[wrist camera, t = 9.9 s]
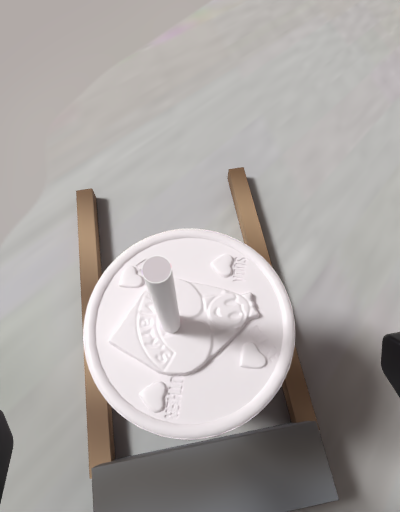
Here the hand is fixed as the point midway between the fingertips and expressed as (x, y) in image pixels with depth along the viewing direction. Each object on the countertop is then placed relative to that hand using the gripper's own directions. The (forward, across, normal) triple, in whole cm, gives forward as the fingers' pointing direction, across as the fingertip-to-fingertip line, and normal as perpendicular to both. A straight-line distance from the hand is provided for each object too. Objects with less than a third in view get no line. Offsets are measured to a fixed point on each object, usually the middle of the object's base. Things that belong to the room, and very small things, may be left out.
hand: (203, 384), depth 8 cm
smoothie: (+10, 0, +7) cm, 12 cm away
